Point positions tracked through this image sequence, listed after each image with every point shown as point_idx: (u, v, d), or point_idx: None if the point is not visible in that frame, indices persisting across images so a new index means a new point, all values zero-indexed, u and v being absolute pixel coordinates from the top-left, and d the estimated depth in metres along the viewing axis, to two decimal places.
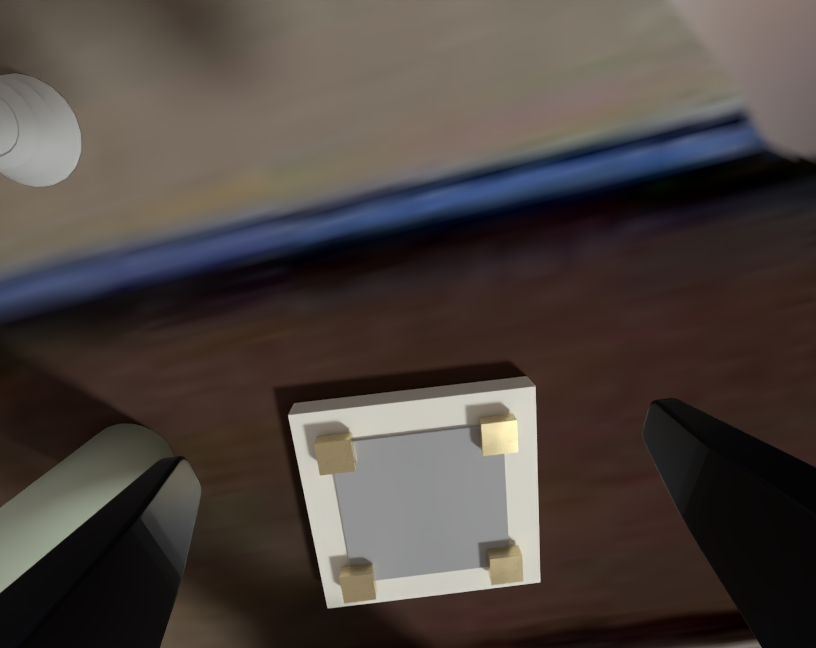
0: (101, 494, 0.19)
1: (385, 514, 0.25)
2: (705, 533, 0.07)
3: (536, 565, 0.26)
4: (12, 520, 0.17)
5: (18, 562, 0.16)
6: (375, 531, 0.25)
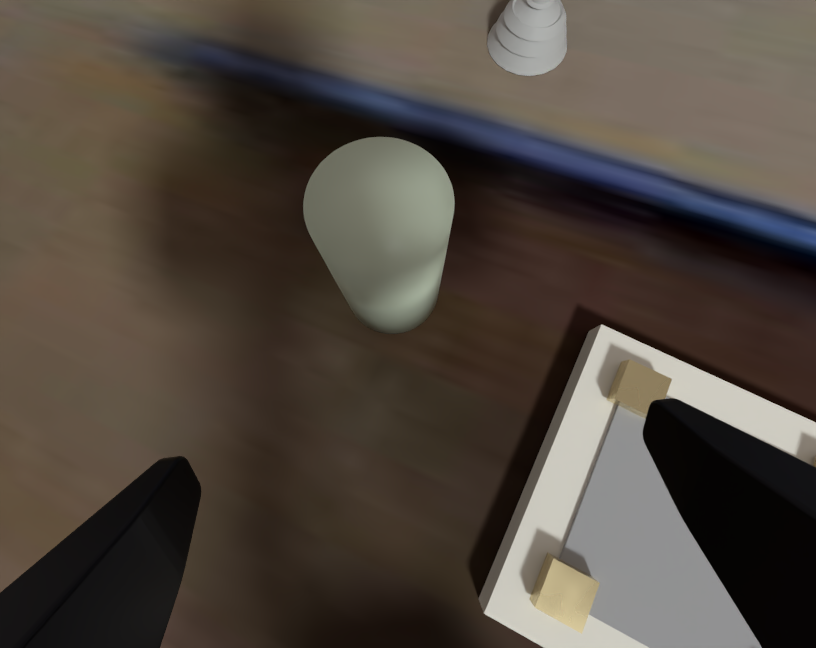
0: None
1: (645, 511, 0.18)
2: (705, 533, 0.07)
3: None
4: None
5: (435, 187, 0.14)
6: (620, 527, 0.18)
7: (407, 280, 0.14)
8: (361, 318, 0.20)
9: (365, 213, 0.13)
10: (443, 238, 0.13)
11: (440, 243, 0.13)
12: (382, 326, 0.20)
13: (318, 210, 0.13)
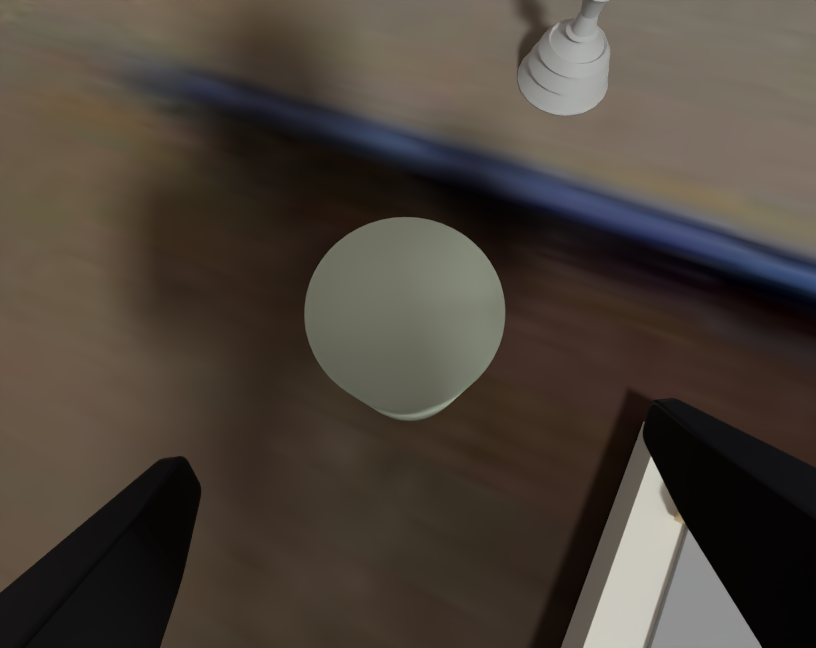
0: None
1: None
2: (705, 533, 0.07)
3: None
4: None
5: (479, 287, 0.10)
6: None
7: (439, 405, 0.11)
8: None
9: (386, 322, 0.10)
10: (491, 359, 0.10)
11: (487, 366, 0.10)
12: (398, 418, 0.17)
13: (324, 317, 0.10)
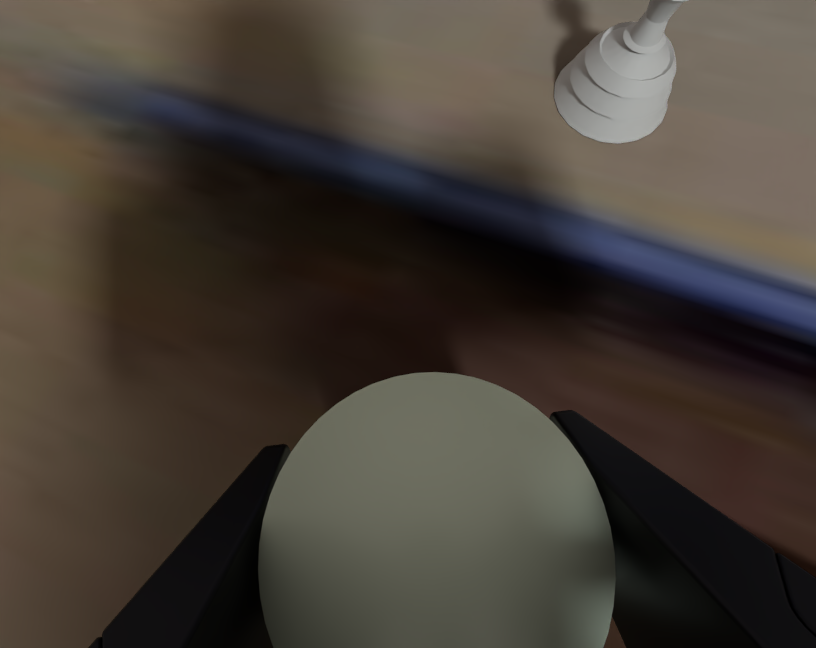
0: None
1: None
2: None
3: None
4: None
5: (565, 510, 0.06)
6: None
7: None
8: None
9: (404, 581, 0.06)
10: None
11: None
12: None
13: (293, 571, 0.06)
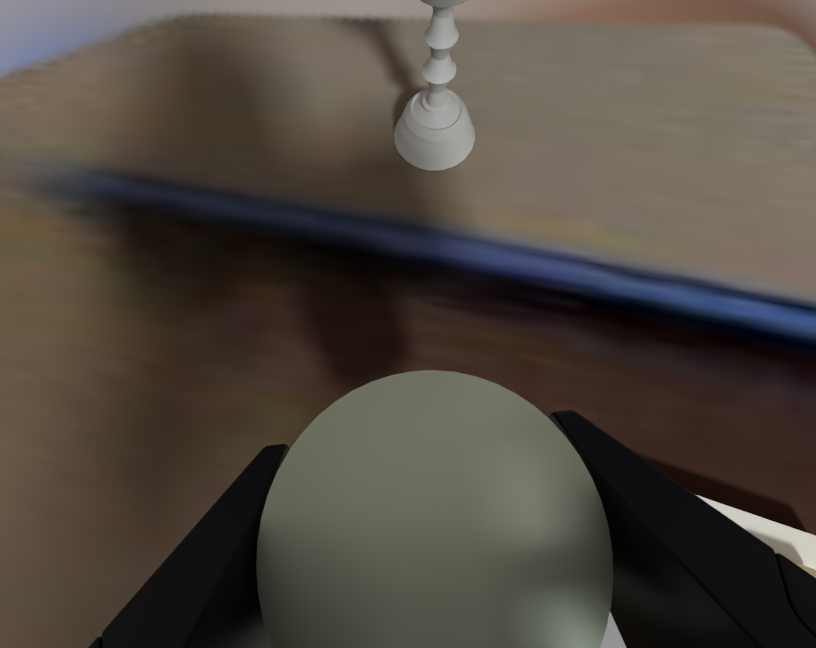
0: None
1: (602, 642, 0.17)
2: None
3: None
4: None
5: (563, 508, 0.06)
6: None
7: None
8: None
9: (402, 579, 0.06)
10: None
11: None
12: None
13: (291, 568, 0.06)
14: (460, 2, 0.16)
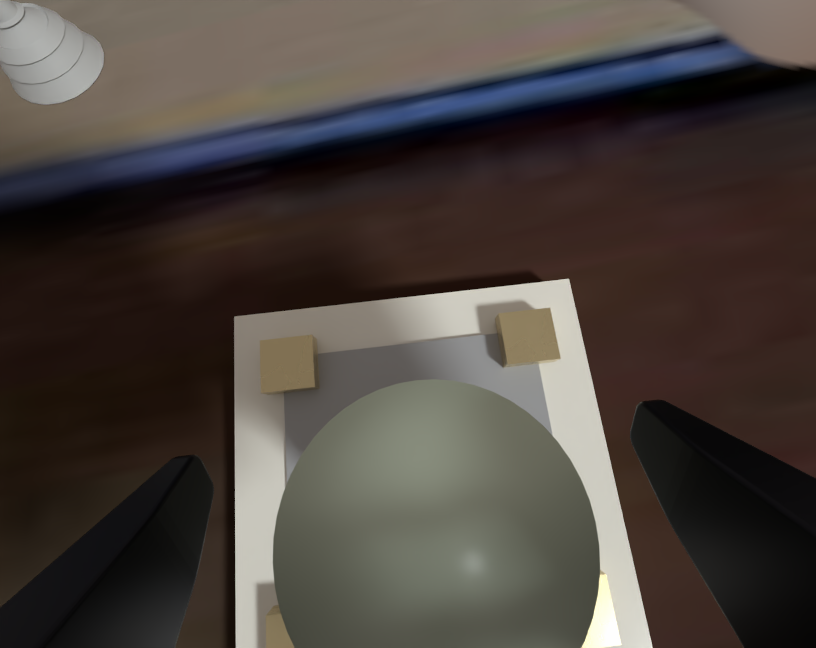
0: None
1: None
2: (690, 535, 0.07)
3: (641, 623, 0.14)
4: None
5: (554, 507, 0.06)
6: None
7: None
8: None
9: (407, 572, 0.06)
10: (580, 643, 0.06)
11: None
12: None
13: (305, 561, 0.06)
14: None
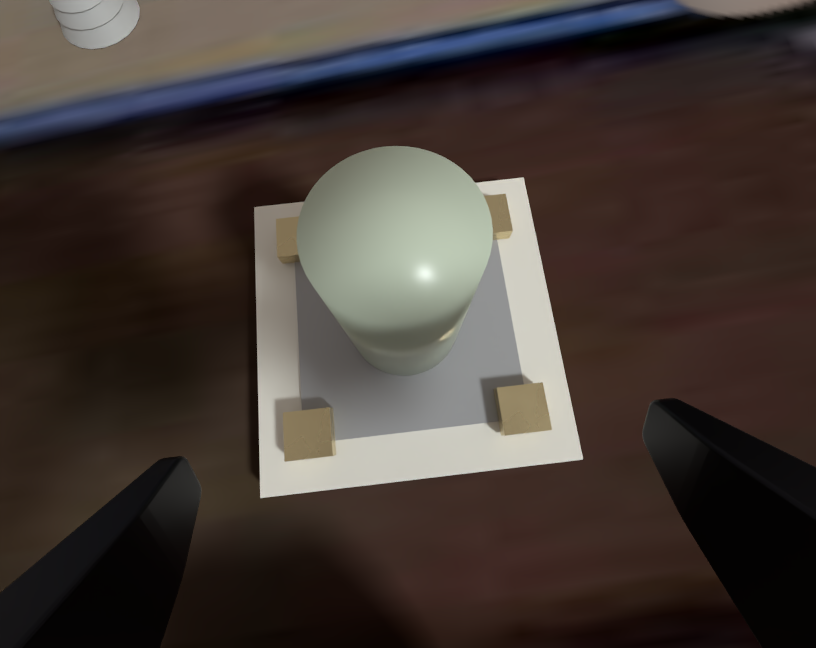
0: None
1: None
2: (705, 533, 0.07)
3: (571, 425, 0.18)
4: None
5: (467, 210, 0.10)
6: (339, 355, 0.19)
7: (429, 329, 0.11)
8: (368, 359, 0.17)
9: (377, 244, 0.10)
10: (479, 277, 0.10)
11: (475, 284, 0.10)
12: (393, 369, 0.17)
13: (316, 240, 0.10)
14: None
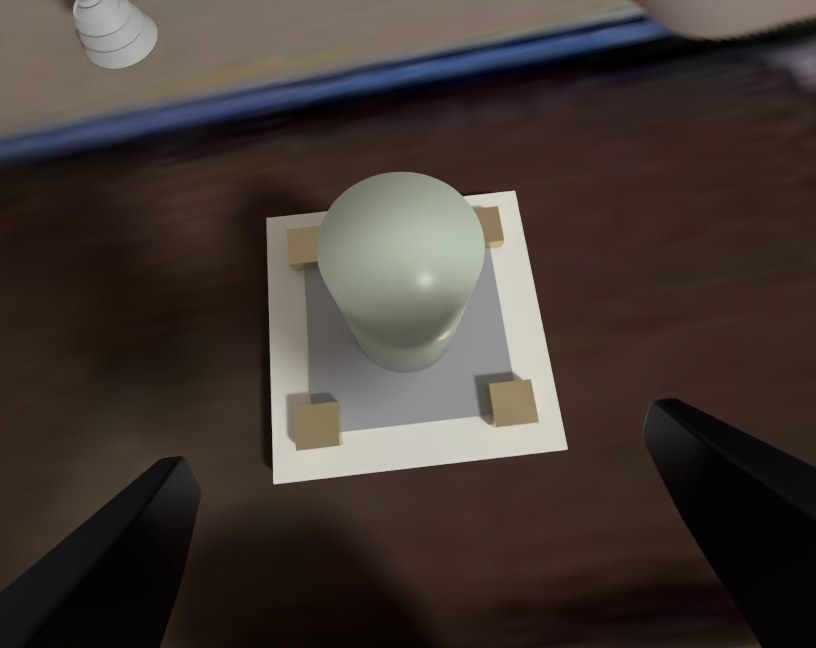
0: None
1: None
2: (705, 533, 0.07)
3: (557, 418, 0.20)
4: None
5: (462, 228, 0.12)
6: (345, 354, 0.20)
7: (430, 330, 0.13)
8: (372, 358, 0.19)
9: (386, 257, 0.12)
10: (473, 285, 0.12)
11: (470, 291, 0.12)
12: (395, 367, 0.19)
13: (333, 254, 0.12)
14: None
